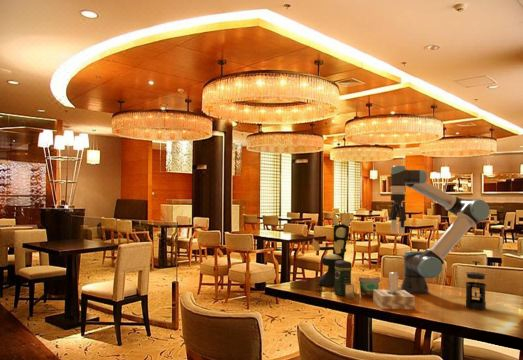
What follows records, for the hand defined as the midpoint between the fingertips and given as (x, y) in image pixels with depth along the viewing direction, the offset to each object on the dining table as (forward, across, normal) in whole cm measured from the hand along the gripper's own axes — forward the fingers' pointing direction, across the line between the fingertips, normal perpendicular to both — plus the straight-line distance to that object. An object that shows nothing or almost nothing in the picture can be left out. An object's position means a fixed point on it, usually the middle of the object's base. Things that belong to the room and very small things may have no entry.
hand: (397, 232), depth 249 cm
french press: (+35, +23, +31) cm, 52 cm away
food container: (+35, +1, -14) cm, 38 cm away
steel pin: (+34, +21, -9) cm, 41 cm away
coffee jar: (+35, -3, -29) cm, 45 cm away
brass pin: (+34, +6, -27) cm, 45 cm away
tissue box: (+34, +21, -9) cm, 41 cm away
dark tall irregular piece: (+35, -31, -29) cm, 55 cm away
